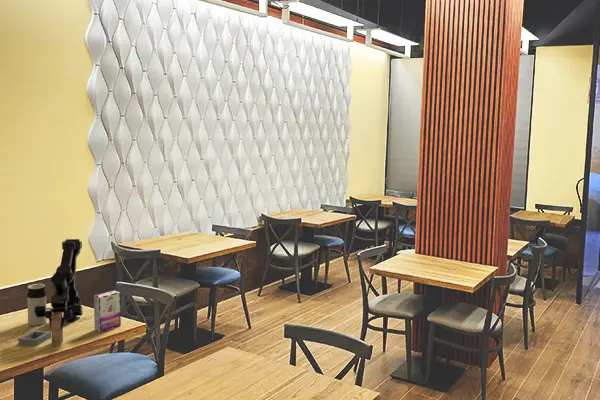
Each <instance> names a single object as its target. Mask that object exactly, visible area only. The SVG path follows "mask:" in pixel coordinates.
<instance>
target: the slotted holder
mask: <svg viewBox="0 0 600 400" xmlns="http://www.w3.org/2000/svg"><path fill="white" fill-rule="evenodd" d="M49 339H52V331H47V330H39V329H38V330H36V329H35V330H31V331H29V332H28V333H26V334H24V335H21V336H20V337H18V340H17V342H18V345H22V346H23V345H24V346H32V347H38V346H40V345H41V344H43V343H45V342H46V341H47V340H49Z"/></svg>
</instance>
